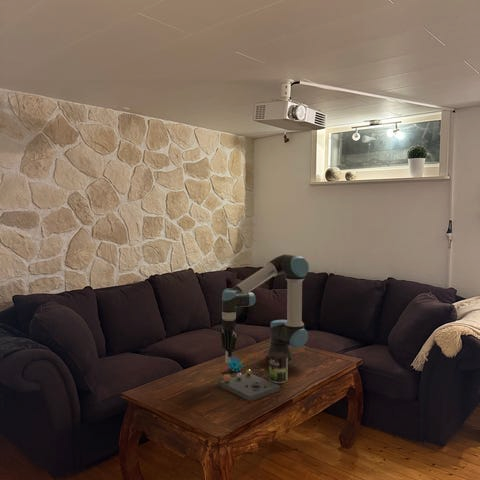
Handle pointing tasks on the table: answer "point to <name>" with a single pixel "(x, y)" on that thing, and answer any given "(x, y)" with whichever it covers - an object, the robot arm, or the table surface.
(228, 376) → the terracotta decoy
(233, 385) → the plate
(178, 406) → the table surface
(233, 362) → the gear
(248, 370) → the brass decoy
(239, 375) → the steel ball
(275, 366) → the coffee can
